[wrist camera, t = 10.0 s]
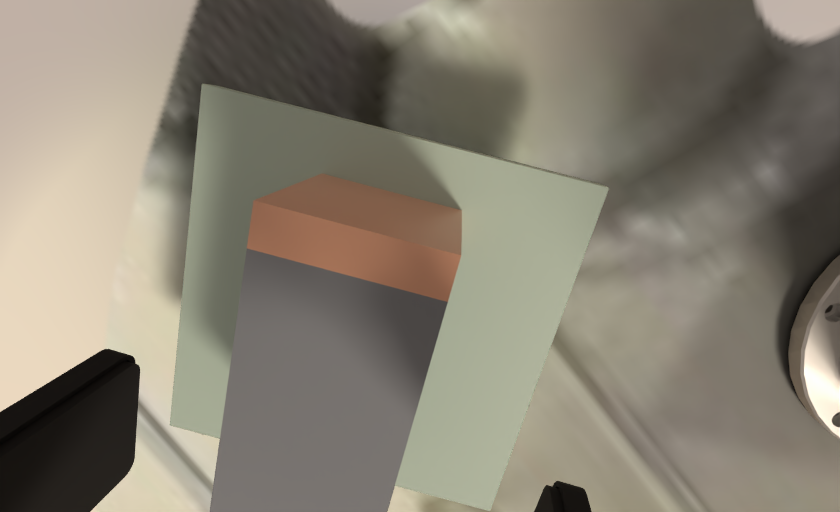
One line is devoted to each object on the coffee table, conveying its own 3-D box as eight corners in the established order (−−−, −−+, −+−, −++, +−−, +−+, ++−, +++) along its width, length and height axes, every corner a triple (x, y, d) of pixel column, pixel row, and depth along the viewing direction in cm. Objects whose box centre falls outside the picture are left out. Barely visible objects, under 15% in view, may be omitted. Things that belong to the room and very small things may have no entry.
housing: (396, 443, 19) (370, 568, 14) (278, 412, 19) (207, 523, 14) (462, 210, 16) (461, 255, 11) (321, 173, 16) (253, 200, 11)
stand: (572, 170, 21) (609, 187, 15) (484, 427, 25) (490, 511, 20) (267, 91, 21) (201, 83, 16) (231, 360, 25) (169, 425, 20)
